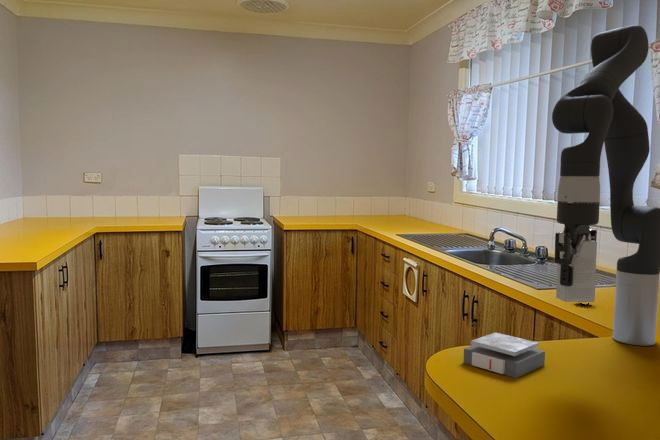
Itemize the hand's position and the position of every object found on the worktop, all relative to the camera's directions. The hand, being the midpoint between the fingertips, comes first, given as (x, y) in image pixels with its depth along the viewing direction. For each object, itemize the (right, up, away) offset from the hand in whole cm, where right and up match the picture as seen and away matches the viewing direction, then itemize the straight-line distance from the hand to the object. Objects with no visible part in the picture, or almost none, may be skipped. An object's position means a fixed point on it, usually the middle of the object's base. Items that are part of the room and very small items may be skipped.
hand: (574, 283), depth 107 cm
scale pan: (-12, -14, +7) cm, 20 cm away
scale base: (-12, -18, +7) cm, 23 cm away
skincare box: (0, -4, 0) cm, 4 cm away
